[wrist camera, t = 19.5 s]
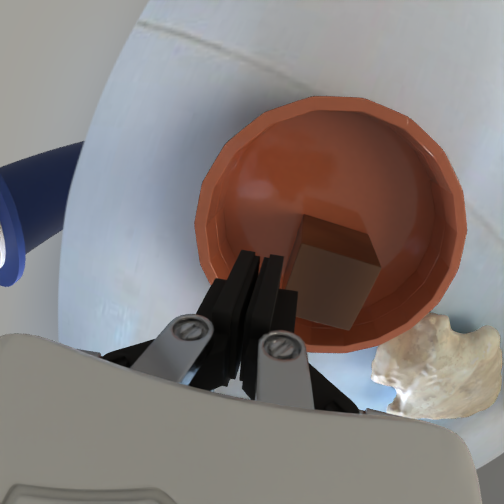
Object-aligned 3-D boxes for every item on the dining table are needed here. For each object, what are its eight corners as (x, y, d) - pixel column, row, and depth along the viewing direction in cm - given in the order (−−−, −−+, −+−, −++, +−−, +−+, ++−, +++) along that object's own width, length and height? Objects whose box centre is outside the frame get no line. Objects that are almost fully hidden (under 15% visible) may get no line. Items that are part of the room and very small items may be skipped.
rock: (441, 268, 19) (524, 357, 21) (330, 370, 26) (441, 422, 28) (459, 297, 16) (535, 380, 18) (330, 402, 22) (446, 445, 24)
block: (284, 272, 21) (277, 311, 17) (303, 213, 19) (301, 242, 15) (344, 289, 21) (349, 331, 17) (368, 234, 19) (382, 267, 15)
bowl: (200, 277, 23) (179, 312, 19) (248, 72, 16) (230, 60, 12) (381, 332, 23) (389, 372, 19) (468, 156, 15) (503, 170, 12)
